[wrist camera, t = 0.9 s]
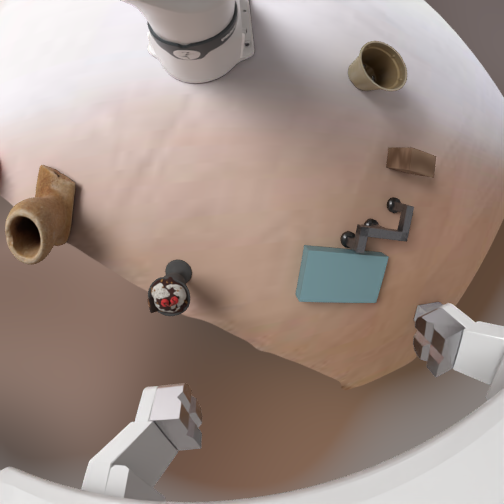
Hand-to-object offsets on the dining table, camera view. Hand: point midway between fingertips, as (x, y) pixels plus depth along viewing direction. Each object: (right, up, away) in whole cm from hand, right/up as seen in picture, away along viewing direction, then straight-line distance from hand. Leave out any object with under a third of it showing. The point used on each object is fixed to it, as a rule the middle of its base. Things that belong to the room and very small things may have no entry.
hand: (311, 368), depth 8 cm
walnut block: (+27, +22, +39) cm, 52 cm away
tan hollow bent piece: (-39, +13, +36) cm, 54 cm away
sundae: (-15, 0, +42) cm, 45 cm away
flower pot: (+19, +37, +33) cm, 53 cm away
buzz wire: (+21, +10, +42) cm, 48 cm away
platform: (+15, 0, +45) cm, 48 cm away
